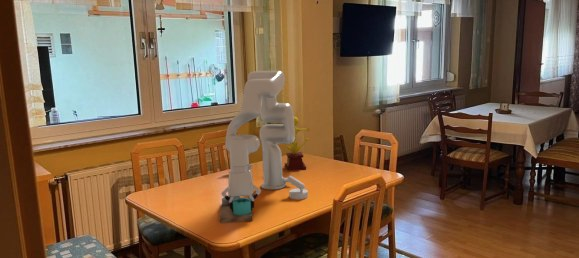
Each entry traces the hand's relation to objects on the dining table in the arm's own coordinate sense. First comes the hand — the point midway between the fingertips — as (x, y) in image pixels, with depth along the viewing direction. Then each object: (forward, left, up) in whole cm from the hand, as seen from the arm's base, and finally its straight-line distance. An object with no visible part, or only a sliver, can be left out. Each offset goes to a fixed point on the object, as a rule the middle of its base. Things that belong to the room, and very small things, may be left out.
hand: (242, 209), depth 185 cm
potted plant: (-31, -74, -3) cm, 80 cm away
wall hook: (-26, -22, -3) cm, 33 cm away
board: (+2, -6, -3) cm, 7 cm away
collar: (0, 0, -1) cm, 1 cm away
